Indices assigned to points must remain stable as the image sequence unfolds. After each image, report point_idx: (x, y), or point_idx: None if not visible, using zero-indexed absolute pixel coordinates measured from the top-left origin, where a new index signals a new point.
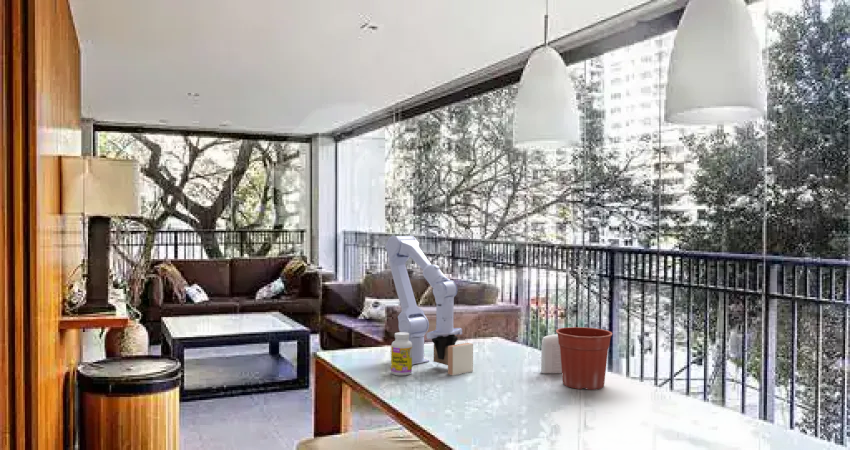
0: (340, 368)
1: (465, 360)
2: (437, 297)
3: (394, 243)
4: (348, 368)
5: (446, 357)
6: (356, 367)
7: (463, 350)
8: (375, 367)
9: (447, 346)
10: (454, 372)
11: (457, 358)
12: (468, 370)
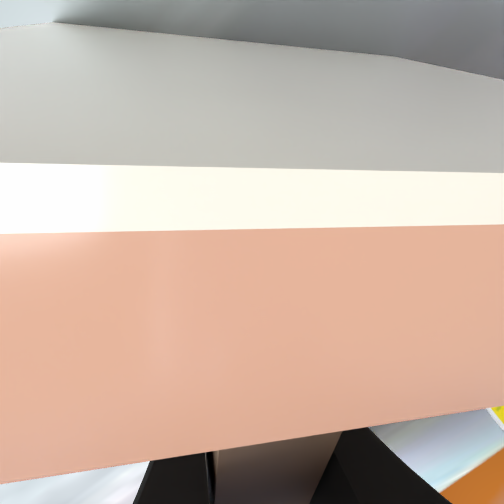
0: (491, 453)
1: (222, 52)
2: None
3: None
4: (482, 448)
5: None
6: (457, 450)
7: (368, 105)
8: (427, 434)
9: (248, 490)
10: (390, 58)
11: (458, 82)
12: (143, 32)
